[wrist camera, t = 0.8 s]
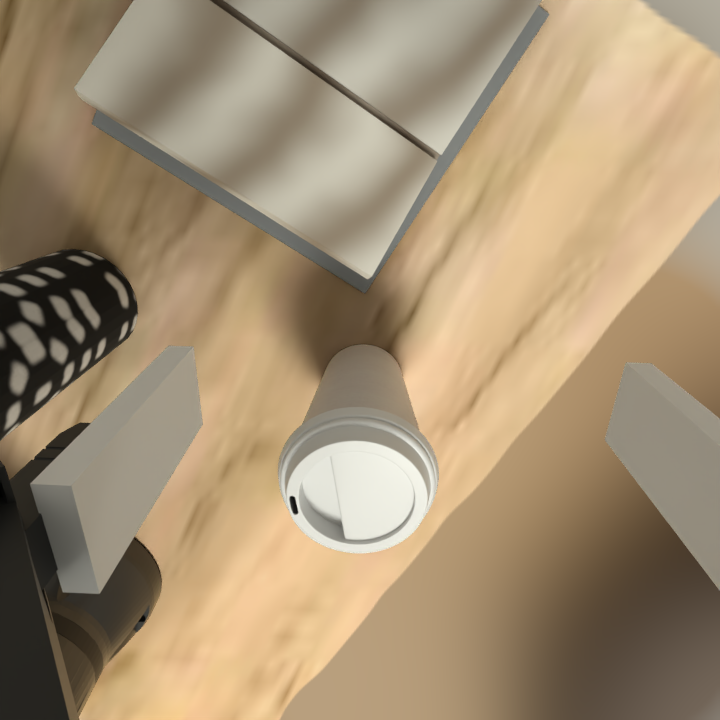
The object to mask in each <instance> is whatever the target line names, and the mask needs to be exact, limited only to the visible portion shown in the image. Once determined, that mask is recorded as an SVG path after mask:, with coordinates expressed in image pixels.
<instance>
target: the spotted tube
mask: <svg viewBox="0 0 720 720" xmlns="http://www.w3.org/2000/svg"><path fill="white" fill-rule="evenodd" d="M137 314H138V312H137V302H136V298H135V295H134V292H133V290H132V288H131V286H130V284H129V282H128V281H127V279H126V278H125V277H124V275H123V274H122V273H121V272H120V271H119V270H118V269H117V268H116V267H115V266H114V265H113V264H111V263H110V262H108V261H107V260H106V259H104V258H102V257H100V256H98V255H96V254H94V253H91V252H87V251H84V250H76V249H69V250H61V251H58V252H55V253H52V254H49V255H46V256H43V257H40V258H37V259H35V260H32V261H29V262H26V263H23V264H20V265H18V266H15V267H12V268H9V269H6V270H4V271H1V272H0V440H2V439H3V438H4V437H5V436H7V435H8V434H9V433H10V432H12V431H13V430H14V429H15V428H17V427H18V426H19V425H20V424H22V423H23V422H24V421H25V420H27V419H28V418H29V417H30V416H32V415H33V414H34V413H35V412H37V411H38V410H39V409H40V408H42V407H43V406H44V405H45V404H46V403H48V402H49V401H50V400H51V399H53V398H54V397H55V396H56V395H58V394H59V393H60V392H61V391H63V390H64V389H65V388H66V387H68V386H69V385H70V384H71V383H73V382H74V381H75V380H76V379H78V378H79V377H80V376H81V375H83V374H84V373H85V372H86V371H88V370H89V369H90V368H91V367H93V366H94V365H95V364H96V363H98V362H99V361H100V360H101V359H103V358H104V357H105V356H106V355H108V354H109V353H110V352H111V351H113V350H114V349H115V348H116V347H118V346H119V345H120V344H121V343H122V342H124V341H125V340H126V339H127V338H128V337H129V336H130V334H131V333H132V331H133V329H134V327H135V324H136V321H137Z"/></svg>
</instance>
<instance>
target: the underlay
mask: <svg viewBox="0 0 720 720" xmlns="http://www.w3.org/2000/svg"><path fill="white" fill-rule="evenodd" d="M548 16H549V14H548V13H547V12H546V11H545V10H543V9H542V8H541V7H540V6H539V5H538V7H537V9H536V10H535V12H534V13H533V15H532V16H531V18H530V19H529V21H528V22H527V24H526V26H525V27H524V29H523V30H522V32H521V33H520V35H519V36H518V38H517V39H516V41H515V42H514V44H513V46H512V47H511V49H510V50H509V52H508V53H507V55H506V56H505V58H504V59H503V61H502V63H501V64H500V66H499V67H498V69H497V70H496V72H495V73H494V75H493V76H492V78H491V80H490V81H489V83H488V84H487V86H486V87H485V89H484V90H483V92H482V93H481V95H480V96H479V98H478V100H477V101H476V103H475V104H474V106H473V107H472V109H471V110H470V112H469V113H468V115H467V117H466V118H465V120H464V121H463V123H462V124H461V126H460V127H459V129H458V130H457V132H456V134H455V135H454V137H453V138H452V140H451V141H450V143H449V144H448V146H447V147H446V149H445V151H444V152H443V154H442V155H440V156H439V157H438V159H437V163H436V165H435V166H434V168H433V170H432V172H431V174H430V175H429V177H428V179H427V181H426V182H425V184H424V186H423V188H422V189H421V191H420V193H419V195H418V196H417V198H416V200H415V202H414V203H413V205H412V207H411V209H410V210H409V212H408V214H407V216H406V217H405V219H404V221H403V223H402V225H401V226H400V228H399V230H398V232H397V233H396V235H395V237H394V239H393V240H392V242H391V244H390V246H389V247H388V249H387V251H386V253H385V254H384V256H383V258H382V260H381V261H380V263H379V265H378V267H377V269H376V270H375V272H374V274H373V276H372V277H370V278H369V279H366V278H364V277H363V276H361V275H360V274H358V273H357V272H355V271H353V270H352V269H350V268H349V267H347V266H345V265H344V264H342V263H341V262H339V261H337V260H336V259H334V258H333V257H331V256H329V255H328V254H326V253H325V252H323V251H321V250H320V249H318V248H317V247H315V246H314V245H312V244H310V243H309V242H307V241H306V240H304V239H302V238H301V237H299V236H298V235H296V234H294V233H293V232H291V231H290V230H288V229H286V228H285V227H283V226H282V225H280V224H279V223H277V222H275V221H274V220H272V219H271V218H269V217H267V216H266V215H264V214H263V213H261V212H259V211H258V210H256V209H255V208H253V207H251V206H250V205H248V204H247V203H245V202H243V201H242V200H240V199H239V198H237V197H236V196H234V195H232V194H231V193H229V192H228V191H226V190H224V189H223V188H221V187H220V186H218V185H216V184H215V183H213V182H212V181H210V180H208V179H207V178H205V177H204V176H202V175H200V174H199V173H197V172H196V171H194V170H193V169H191V168H189V167H188V166H186V165H185V164H183V163H181V162H180V161H178V160H177V159H175V158H173V157H172V156H170V155H169V154H167V153H165V152H164V151H162V150H161V149H159V148H158V147H156V146H154V145H153V144H151V143H150V142H148V141H146V140H145V139H143V138H142V137H140V136H138V135H137V134H135V133H134V132H132V131H130V130H129V129H127V128H126V127H124V126H122V125H121V124H119V123H118V122H116V121H115V120H113V119H111V118H110V117H108V116H107V115H105V114H103V113H102V112H100V111H99V110H97V111H96V113H95V116H94V119H93V122H92V125H94V126H96V127H97V128H99V129H100V130H102V131H104V132H105V133H107V134H109V135H110V136H112V137H113V138H115V139H117V140H118V141H120V142H121V143H123V144H125V145H126V146H128V147H129V148H131V149H133V150H134V151H136V152H138V153H139V154H141V155H142V156H144V157H146V158H147V159H149V160H150V161H152V162H154V163H155V164H157V165H158V166H160V167H162V168H163V169H165V170H167V171H168V172H170V173H171V174H173V175H175V176H176V177H178V178H179V179H181V180H183V181H184V182H186V183H187V184H189V185H191V186H192V187H194V188H196V189H197V190H199V191H200V192H202V193H204V194H205V195H207V196H208V197H210V198H212V199H213V200H215V201H216V202H218V203H220V204H221V205H223V206H225V207H226V208H228V209H229V210H231V211H233V212H234V213H236V214H237V215H239V216H241V217H242V218H244V219H245V220H247V221H249V222H250V223H252V224H254V225H255V226H257V227H258V228H260V229H262V230H263V231H265V232H266V233H268V234H270V235H271V236H273V237H274V238H276V239H278V240H279V241H281V242H283V243H284V244H286V245H287V246H289V247H291V248H292V249H294V250H295V251H297V252H299V253H300V254H302V255H303V256H305V257H307V258H308V259H310V260H312V261H313V262H315V263H316V264H318V265H320V266H321V267H323V268H324V269H326V270H328V271H329V272H331V273H332V274H334V275H336V276H337V277H339V278H341V279H342V280H344V281H345V282H347V283H349V284H350V285H352V286H353V287H355V288H357V289H358V290H360V291H361V292H363V293H366V292H367V290H368V288H369V287H370V285H371V284H372V282H373V281H374V279H375V278H376V276H377V275H378V273H379V272H380V270H381V269H382V267H383V266H384V264H385V263H386V261H387V260H388V258H389V257H390V255H391V254H392V252H393V251H394V249H395V248H396V246H397V245H398V243H399V242H400V240H401V238H402V237H403V235H404V234H405V232H406V231H407V229H408V228H409V226H410V225H411V223H412V222H413V220H414V219H415V217H416V216H417V214H418V213H419V211H420V210H421V208H422V207H423V205H424V204H425V202H426V201H427V199H428V198H429V196H430V195H431V193H432V192H433V190H434V188H435V187H436V185H437V184H438V182H439V181H440V179H441V178H442V176H443V175H444V173H445V172H446V170H447V169H448V167H449V166H450V164H451V163H452V161H453V160H454V158H455V157H456V155H457V154H458V152H459V151H460V149H461V148H462V146H463V145H464V143H465V142H466V140H467V138H468V137H469V135H470V134H471V132H472V131H473V129H474V128H475V126H476V125H477V123H478V122H479V120H480V119H481V117H482V116H483V114H484V113H485V111H486V110H487V108H488V107H489V105H490V104H491V102H492V101H493V99H494V98H495V96H496V95H497V93H498V91H499V90H500V88H501V87H502V85H503V84H504V82H505V81H506V79H507V78H508V76H509V75H510V73H511V72H512V70H513V69H514V67H515V66H516V64H517V63H518V61H519V60H520V58H521V57H522V55H523V54H524V52H525V51H526V49H527V48H528V46H529V45H530V43H531V41H532V40H533V38H534V37H535V35H536V34H537V32H538V31H539V29H540V28H541V26H542V25H543V23H544V22H545V20H546V19H547V17H548Z"/></svg>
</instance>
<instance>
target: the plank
mask: <svg viewBox="0 0 720 720" xmlns="http://www.w3.org/2000/svg"><path fill="white" fill-rule="evenodd" d="M74 90H75V91H76V93H77V94H78V96H79V97H80V99H81V100H83V101H84V102H86V103H87V104H89V105H91V106H92V107H94V108H95V109H97V110H99V111H100V112H102V113H103V114H105V115H107V116H108V117H110V118H111V119H113V120H115V121H116V122H118V123H119V124H121V125H122V126H124V127H126V128H127V129H129V130H130V131H132V132H134V133H135V134H137V135H138V136H140V137H142V138H143V139H145V140H146V141H148V142H150V143H151V144H153V145H154V146H156V147H158V148H159V149H161V150H162V151H164V152H165V153H167V154H169V155H170V156H172V157H173V158H175V159H177V160H178V161H180V162H181V163H183V164H185V165H186V166H188V167H189V168H191V169H193V170H194V171H196V172H197V173H199V174H200V175H202V176H204V177H205V178H207V179H208V180H210V181H212V182H213V183H215V184H216V185H218V186H220V187H221V188H223V189H224V190H226V191H228V192H229V193H231V194H232V195H234V196H236V197H237V198H239V199H240V200H242V201H243V202H245V203H247V204H248V205H250V206H251V207H253V208H255V209H256V210H258V211H259V212H261V213H263V214H264V215H266V216H267V217H269V218H271V219H272V220H274V221H275V222H277V223H279V224H280V225H282V226H283V227H285V228H286V229H288V230H290V231H291V232H293V233H294V234H296V235H298V236H299V237H301V238H302V239H304V240H306V241H307V242H309V243H310V244H312V245H314V246H315V247H317V248H318V249H320V250H321V251H323V252H325V253H326V254H328V255H329V256H331V257H333V258H334V259H336V260H337V261H339V262H341V263H342V264H344V265H345V266H347V267H349V268H350V269H352V270H353V271H355V272H357V273H358V274H360V275H361V276H363V277H364V278H366V279H369V278H370V277H372V276H373V274H374V272H375V270H376V269H377V267H378V265H379V263H380V261H381V260H382V258H383V256H384V254H385V253H386V251H387V249H388V247H389V246H390V244H391V242H392V240H393V239H394V237H395V235H396V233H397V232H398V230H399V228H400V226H401V225H402V223H403V221H404V219H405V217H406V216H407V214H408V212H409V210H410V209H411V207H412V205H413V203H414V202H415V200H416V198H417V196H418V195H419V193H420V191H421V189H422V188H423V186H424V184H425V182H426V181H427V179H428V177H429V175H430V174H431V172H432V170H433V168H434V166H435V165H436V163H437V160H435V159H434V158H432V157H431V156H429V155H428V154H427V153H425V152H424V151H422V150H421V149H420V148H418V147H417V146H415V145H414V144H413V143H411V142H410V141H408V140H407V139H405V138H404V137H403V136H401V135H400V134H398V133H397V132H396V131H394V130H393V129H391V128H390V127H388V126H387V125H386V124H384V123H383V122H381V121H380V120H379V119H377V118H376V117H374V116H373V115H371V114H370V113H369V112H367V111H366V110H364V109H363V108H362V107H360V106H359V105H357V104H356V103H354V102H353V101H352V100H350V99H349V98H347V97H346V96H345V95H343V94H342V93H340V92H339V91H337V90H336V89H335V88H333V87H332V86H330V85H329V84H328V83H326V82H325V81H323V80H322V79H321V78H319V77H318V76H316V75H315V74H313V73H312V72H311V71H309V70H308V69H306V68H305V67H304V66H302V65H301V64H299V63H298V62H296V61H295V60H294V59H292V58H291V57H289V56H288V55H287V54H285V53H284V52H282V51H281V50H279V49H278V48H277V47H275V46H274V45H272V44H271V43H270V42H268V41H267V40H265V39H264V38H262V37H261V36H260V35H258V34H257V33H255V32H254V31H253V30H251V29H250V28H248V27H247V26H246V25H244V24H243V23H241V22H240V21H238V20H237V19H236V18H234V17H233V16H231V15H230V14H229V13H227V12H226V11H224V10H223V9H221V8H220V7H219V6H217V5H216V4H214V3H213V2H212V1H210V0H134V1H133V2H132V3H131V5H130V6H129V8H128V9H127V11H126V12H125V14H124V15H123V17H122V18H121V20H120V21H119V23H118V24H117V26H116V27H115V28H114V30H113V31H112V33H111V34H110V36H109V37H108V39H107V40H106V42H105V43H104V45H103V46H102V48H101V49H100V51H99V52H98V54H97V55H96V56H95V58H94V59H93V61H92V62H91V64H90V65H89V67H88V68H87V70H86V71H85V73H84V74H83V76H82V77H81V79H80V80H79V81H78V83H77V84H76V86H75V87H74Z"/></svg>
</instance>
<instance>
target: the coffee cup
mask: <svg viewBox="0 0 720 720" xmlns="http://www.w3.org/2000/svg"><path fill="white" fill-rule="evenodd" d="M278 479H279V486H280V491H281V494H282V497H283V500H284V502H285V504H286V506H287V508H288V510H289V512H290V514H291V516H292V518H293V520H294V522H295V523H296V525H297V526H298V527H299V528H300V529H301V530H302V532H304V533H305V534H306V535H307V536H308V537H309V538H311V539H312V540H314V541H315V542H317V543H319V544H321V545H323V546H325V547H328V548H330V549H333V550H337V551H341V552H347V553H371V552H376V551H381V550H384V549H387V548H390V547H392V546H394V545H397V544H398V543H400V542H402V541H403V540H405V539H406V538H407V537H409V536H410V535H411V534H412V533H413V532H414V531H415V530H416V529H417V527H418V526H419V525H420V523H421V521H422V520H423V518H424V517H425V515H426V514H427V512H428V510H429V509H430V507H431V505H432V503H433V500H434V498H435V494H436V490H437V486H438V480H439V469H438V463H437V459H436V456H435V453H434V451H433V449H432V447H431V445H430V443H429V442H428V441H427V439H426V438H425V437H424V435H423V434H422V433H421V432H420V431H419V428H418V424H417V421H416V418H415V415H414V411H413V408H412V405H411V402H410V398H409V395H408V392H407V389H406V385H405V382H404V379H403V375H402V372H401V369H400V367H399V365H398V363H397V361H396V360H395V359H394V358H393V356H392V355H390V354H389V353H388V352H387V351H385V350H383V349H381V348H379V347H376V346H373V345H366V344H360V345H353V346H350V347H347V348H345V349H343V350H341V351H340V352H338V353H337V354H336V355H335V356H334V357H333V358H332V359H331V360H330V362H329V364H328V366H327V368H326V370H325V372H324V375H323V377H322V379H321V382H320V384H319V386H318V389H317V391H316V393H315V396H314V398H313V400H312V403H311V405H310V407H309V410H308V412H307V414H306V416H305V419H304V421H303V423H302V425H301V426H300V427H299V428H297V429H296V430H295V431H294V432H293V434H292V435H291V436H290V437H289V439H288V440H287V442H286V443H285V445H284V447H283V449H282V452H281V455H280V458H279V463H278Z"/></svg>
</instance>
